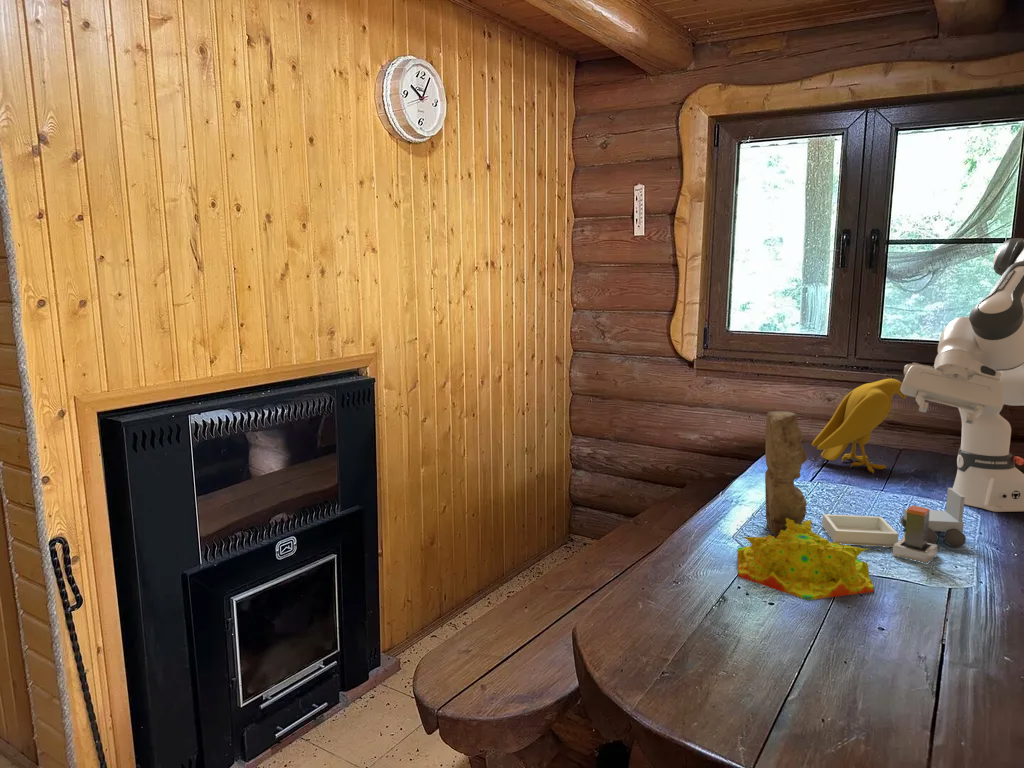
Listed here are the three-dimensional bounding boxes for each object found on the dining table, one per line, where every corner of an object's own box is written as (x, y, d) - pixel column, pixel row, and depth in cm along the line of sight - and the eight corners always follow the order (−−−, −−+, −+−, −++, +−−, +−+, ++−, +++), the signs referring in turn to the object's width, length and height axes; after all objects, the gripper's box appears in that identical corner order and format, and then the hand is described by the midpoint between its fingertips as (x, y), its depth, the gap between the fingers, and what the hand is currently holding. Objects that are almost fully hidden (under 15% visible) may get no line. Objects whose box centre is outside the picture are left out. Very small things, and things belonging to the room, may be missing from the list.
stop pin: (908, 551, 160) (912, 505, 158) (925, 555, 158) (929, 508, 156) (903, 555, 158) (907, 508, 156) (920, 560, 155) (924, 512, 154)
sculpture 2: (908, 478, 221) (926, 385, 216) (824, 470, 221) (840, 377, 216) (876, 461, 241) (892, 375, 236) (799, 454, 241) (813, 368, 236)
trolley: (943, 530, 173) (947, 485, 171) (965, 548, 162) (969, 499, 160) (900, 528, 174) (903, 483, 173) (918, 545, 163) (922, 497, 162)
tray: (880, 529, 173) (881, 516, 173) (897, 547, 162) (898, 533, 162) (822, 527, 176) (822, 514, 175) (834, 544, 165) (835, 530, 164)
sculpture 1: (808, 542, 166) (815, 418, 161) (767, 540, 168) (773, 417, 163) (798, 524, 178) (804, 408, 173) (760, 522, 180) (765, 407, 175)
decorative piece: (739, 556, 140) (738, 508, 168) (738, 593, 141) (737, 539, 169) (884, 571, 132) (857, 518, 160) (881, 610, 133) (855, 551, 162)
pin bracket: (903, 547, 163) (903, 536, 162) (936, 555, 158) (937, 545, 157) (892, 555, 158) (893, 545, 157) (926, 564, 153) (927, 553, 152)
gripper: (909, 352, 166) (898, 394, 159) (1009, 374, 158) (1003, 420, 150) (902, 369, 171) (892, 411, 164) (999, 392, 162) (993, 437, 155)
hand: (946, 416), depth 157 cm, fingers open, 8 cm apart
